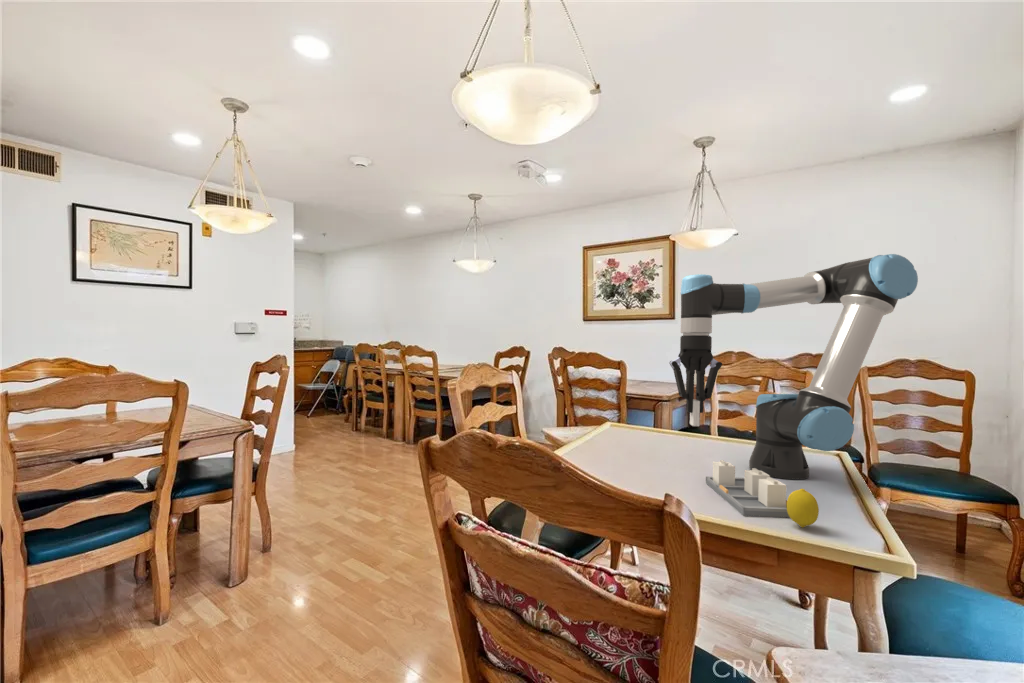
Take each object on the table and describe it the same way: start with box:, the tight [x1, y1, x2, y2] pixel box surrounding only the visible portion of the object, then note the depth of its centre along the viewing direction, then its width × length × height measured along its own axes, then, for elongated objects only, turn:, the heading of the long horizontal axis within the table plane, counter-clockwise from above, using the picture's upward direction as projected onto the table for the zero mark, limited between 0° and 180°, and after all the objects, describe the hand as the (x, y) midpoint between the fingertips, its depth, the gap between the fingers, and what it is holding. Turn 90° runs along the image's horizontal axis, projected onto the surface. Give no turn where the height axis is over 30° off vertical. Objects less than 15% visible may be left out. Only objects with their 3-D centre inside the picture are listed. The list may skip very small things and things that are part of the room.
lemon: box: [786, 488, 820, 528], centre depth 90 cm, size 6×6×8 cm
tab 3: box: [758, 476, 787, 508], centre depth 99 cm, size 4×4×6 cm
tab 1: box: [712, 459, 736, 486], centre depth 114 cm, size 4×4×6 cm
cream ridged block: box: [744, 468, 771, 496], centre depth 106 cm, size 4×4×6 cm
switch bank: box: [705, 476, 791, 519], centre depth 106 cm, size 11×22×2 cm, turn 176°
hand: (694, 425), depth 114 cm, fingers closed
